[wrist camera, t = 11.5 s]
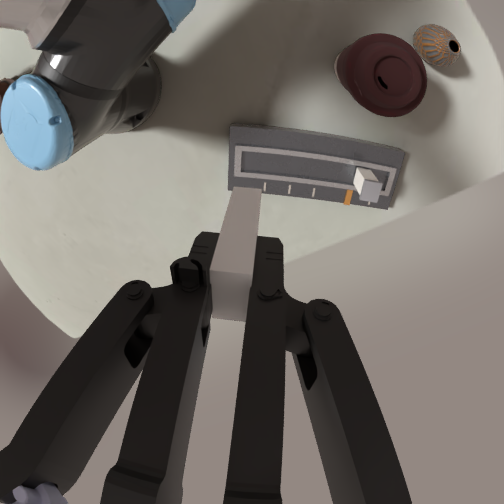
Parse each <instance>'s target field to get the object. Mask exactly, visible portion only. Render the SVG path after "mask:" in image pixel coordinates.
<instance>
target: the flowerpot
mask: <svg viewBox="0 0 504 504" xmlns="http://www.w3.org/2000/svg"><path fill="white" fill-rule="evenodd" d="M13 82H14V80H12V79H6V78H4V79H1V80H0V134H1V133H2V132H3V131H2V126H1V106H2V101H3V97H4V95H5V93H6V91H7V89H8V88H9V86H10V85H11V84H12V83H13Z"/></svg>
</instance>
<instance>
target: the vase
mask: <svg viewBox="0 0 504 504" xmlns="http://www.w3.org/2000/svg"><path fill="white" fill-rule="evenodd" d="M413 44H414V47H415V50H416V51H417V53H418V54H419V56H420V57H421V58H423V59H424V60H425V61H427V62H428V63H430V64H433V65H436V66H448V65H451V64H453V63H454V62H455V61H456V60H457V59H458V57H459V54H460V51H461V46H460V44H459V42H458V41H457V39H456V38H455V36H454V35H453V34H452V33H451V32H450V31H448V30H447V29H445V28H443V27H441V26H438V25H433V24H429V25H424V26H422V27H420V28H419V29H417V31H416V32H415V34H414V37H413Z"/></svg>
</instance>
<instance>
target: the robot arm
mask: <svg viewBox="0 0 504 504" xmlns="http://www.w3.org/2000/svg"><path fill="white" fill-rule="evenodd" d="M195 3H196V0H0V28H7V29H14V30H20V31H24V32H25V33H26V35H27V38H28V41H29V43H30V46H31V48H32V49H37V50H42V53H41V55H40V57H39V59H38V61H37V63H36V65H35V67H34V69H33V71H32V73H31V74H26V75H23V76H21V77H20V78H19V79H18V80H16V81H14V82H13V83H12V84H11V85H10V86H9V88H8V89H7V91H6V93H5V95H4V97H3V101H2V106H1V126H2V131H3V134H4V137H5V141H6V143H7V145H8V147H9V149H10V150H11V152H12V153H13V155H14V156H15V157H16V158H17V159H18V160H19V161H20V162H21V163H22V164H23V165H25V166H26V167H28V168H30V169H33V170H48V169H51V168H53V167H54V166H56V165H58V164H60V163H63V162H65V161H66V160H68V159H69V157H70V156H72V155H73V154H75V153H76V152H77V151H79V150H80V149H82V148H83V147H85V146H86V145H88V144H89V143H91V142H92V141H94V140H95V139H97V138H99V137H100V136H102V135H103V134H118V133H124V132H127V131H130V130H132V129H134V128H136V127H137V126H139V125H140V124H142V123H143V122H145V121H146V120H147V119H148V118H149V117H150V116H151V114H152V113H153V111H154V110H155V108H156V106H157V104H158V101H159V98H160V94H161V77H160V73H159V70H158V68H157V66H156V64H155V62H154V61H153V60H152V59H151V57H150V56H151V54H152V53H153V52H154V51H155V50H156V49H157V48H158V46H159V45H160V44H161V43H162V42H163V41H164V40H165V39H166V38H167V36H168V35H169V34H170V33H171V32H172V33H174V32H175V31H176V27H177V26H178V25H179V24H180V23H181V22H182V21H183V19H184V18H185V17H186V16H187V15H188V14H189V13H190V12H191V11H192V10H193V8H194V6H195ZM261 193H262V189H257V188H246V187H233V191H232V194H231V197H230V201H229V204H228V207H227V211H226V214H225V217H224V221H223V224H222V228H221V231H220V233H213V232H201V233H200V234H199V235H198V236H197V237H196V238H195V240H194V243H193V246H192V248H191V251H190V253H189V256H188V257H183V258H179V259H177V260H176V261H174V262H173V263H172V265H171V266H170V270H171V276H172V282H173V284H171V285H168V286H164V287H158V288H151V287H150V285H149V284H148V283H147V282H145V281H141V280H134V281H130V282H128V283H126V284H125V285H124V286H122V287H121V288H120V290H119V291H118V292H117V293H116V294H115V296H114V297H113V298H112V299H111V300H110V302H109V303H108V304H107V305H106V306H105V308H104V309H103V310H102V311H101V313H100V314H99V315H98V316H97V318H96V319H95V320H94V321H93V323H92V324H91V325H90V327H89V328H88V329H87V330H86V332H85V333H84V334H83V336H82V337H81V338H80V339H79V341H78V342H77V343H76V345H75V346H74V347H73V349H72V350H71V352H70V353H69V354H68V356H67V357H66V358H65V360H64V361H63V362H62V364H61V365H60V367H59V368H58V369H57V371H56V372H55V374H54V375H53V376H52V378H51V379H50V381H49V382H48V384H47V385H46V387H45V388H44V390H43V391H42V393H41V394H40V396H39V397H38V399H37V400H36V402H35V403H34V405H33V406H32V408H31V409H30V411H29V413H28V414H27V416H26V417H25V419H24V421H23V422H22V424H21V426H20V427H19V429H18V431H17V432H16V434H15V436H14V437H13V439H12V441H11V443H10V444H9V445H8V446H7V447H5V448H4V449H3V450H1V451H0V502H1V503H4V504H68V502H67V500H66V499H65V498H64V497H63V495H64V494H65V493H66V492H67V491H68V490H69V489H70V488H71V487H72V486H73V485H74V484H75V483H76V481H77V479H78V478H79V476H80V475H81V473H82V471H83V470H84V468H85V466H86V464H87V463H88V461H89V459H90V457H91V456H92V454H93V452H94V450H95V448H96V447H97V445H98V443H99V442H100V440H101V438H102V436H103V435H104V433H105V431H106V429H107V428H108V426H109V424H110V423H111V421H112V419H113V418H114V416H115V414H116V413H117V411H118V409H119V407H120V406H121V404H122V402H123V401H124V399H125V397H126V396H127V394H128V392H129V391H130V389H131V388H132V386H133V384H134V383H135V381H136V379H137V378H138V376H139V374H140V373H141V371H142V370H143V371H142V374H141V378H140V381H139V385H138V388H137V391H136V394H135V398H134V401H133V405H132V408H131V412H130V416H129V419H128V423H127V427H126V431H125V435H124V438H123V443H122V446H121V450H120V454H119V458H118V461H117V463H116V465H115V466H113V467H112V468H111V469H110V470H109V472H108V474H107V476H106V479H105V482H104V487H103V492H102V497H101V502H100V504H181V503H182V495H183V488H182V479H183V473H184V467H185V461H186V455H187V449H188V444H189V438H190V433H191V427H192V421H193V416H194V410H195V405H196V400H197V394H198V389H199V384H200V379H201V374H202V368H203V363H204V358H205V353H206V348H207V343H208V338H209V333H210V318H211V314H212V317H213V318H217V319H225V320H234V321H244V322H246V324H245V333H244V340H243V349H242V357H241V365H240V374H239V382H238V391H237V398H236V407H235V415H234V424H233V431H232V440H231V448H230V456H229V464H228V472H227V480H226V488H225V494H224V501H223V504H282V498H281V493H280V484H281V467H282V448H283V427H284V398H285V397H284V396H285V352H286V351H289V352H292V355H293V359H294V363H295V366H296V369H297V373H298V376H299V380H300V384H301V387H302V391H303V394H304V398H305V402H306V405H307V408H308V412H309V416H310V420H311V423H312V427H313V431H314V434H315V438H316V442H317V445H318V449H319V452H320V456H321V459H322V464H323V467H324V471H325V475H326V478H327V482H328V486H329V489H330V493H331V497H332V501H333V504H412V501H411V498H410V495H409V491H408V488H407V485H406V482H405V478H404V475H403V472H402V469H401V466H400V463H399V460H398V457H397V454H396V451H395V448H394V445H393V442H392V440H391V437H390V434H389V431H388V429H387V426H386V423H385V420H384V418H383V415H382V412H381V410H380V407H379V404H378V402H377V399H376V397H375V394H374V391H373V389H372V386H371V384H370V381H369V379H368V376H367V374H366V371H365V369H364V367H363V364H362V362H361V359H360V357H359V355H358V352H357V350H356V347H355V345H354V343H353V340H352V338H351V336H350V334H349V331H348V329H347V327H346V324H345V322H344V320H343V318H342V316H341V313H340V311H339V309H338V308H337V307H336V305H334V304H333V303H332V302H330V301H328V300H325V299H315V300H311V301H310V302H309V303H307V304H306V303H303V302H300V301H298V300H296V299H294V298H292V297H291V296H289V295H288V293H287V292H286V290H285V289H284V276H283V275H284V269H283V266H284V265H283V244H282V243H281V241H280V239H279V238H273V237H263V236H257V235H258V225H259V214H260V203H261Z"/></svg>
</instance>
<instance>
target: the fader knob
mask: <svg viewBox="0 0 504 504" xmlns="http://www.w3.org/2000/svg"><path fill="white" fill-rule="evenodd" d="M353 183H354V185H355V187H356V189H357V191H358V193H359V195H360V197H359V199H360V200H363V201H369V202H375V203H377V202H378V198H379V195H380V192H381V188H382V185H383V183H382V182H379V181H378V179H377V178H376V177H375V175H374V174H373V172H372V171H371V170H369V169H364V168H358V167H357V169H356V173H355V178H354V182H353Z"/></svg>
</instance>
